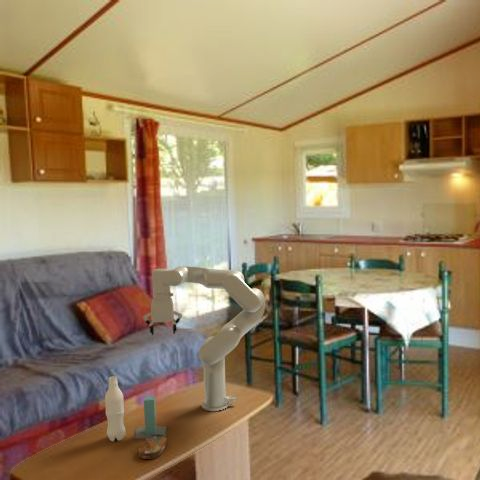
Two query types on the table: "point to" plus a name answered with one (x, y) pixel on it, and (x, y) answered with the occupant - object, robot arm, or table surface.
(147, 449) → the tin
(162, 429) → the mat
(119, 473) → the table surface
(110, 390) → the water bottle
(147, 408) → the stick
